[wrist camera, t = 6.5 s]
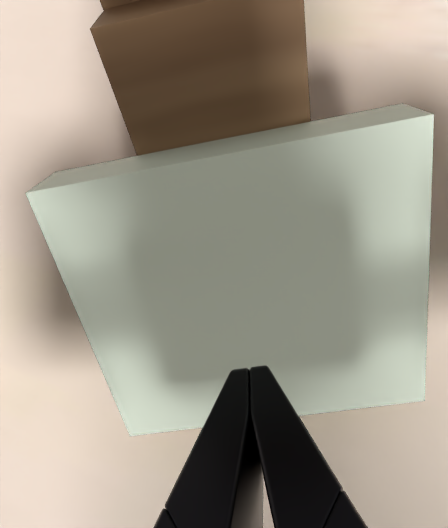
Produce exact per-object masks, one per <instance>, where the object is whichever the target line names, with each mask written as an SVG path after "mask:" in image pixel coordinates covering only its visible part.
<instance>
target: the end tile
mask: <svg viewBox="0 0 448 528" xmlns="http://www.w3.org/2000/svg"><path fill="white" fill-rule="evenodd" d="M433 131H434V114H432V113H430V112H427V111H424V110H421V109H418V108H415V107H412V106H409V105H406V104H403V103H402V104H397V105H391V106H386V107H381V108H376V109H371V110H366V111H361V112H356V113H351V114H346V115H341V116H336V117H331V118H326V119H321V120H316V121H311V122H305V123H300V124H295V125H290V126H285V127H280V128H275V129H270V130H265V131H260V132H255V133H250V134H245V135H240V136H235V137H230V138H224V139H219V140H214V141H209V142H204V143H199V144H194V145H189V146H184V147H179V148H174V149H169V150H164V151H159V152H154V153H149V154H144V155H138V156H133V157H128V158H123V159H118V160H113V161H108V162H103V163H98V164H93V165H88V166H83V167H78V168H73V169H68V170H63V171H57V172H55V173H53V174H52V175H50V176H49V177H48V178H46V179H45V180H43V181H42V182H40V183H39V184H38V185H36V186H35V187H33V188H32V189H30V190H29V191H28V192H26V196H27V198H28V200H29V203H30V205H31V207H32V209H33V212H34V214H35V216H36V219H37V221H38V223H39V226H40V228H41V230H42V233H43V235H44V237H45V240H46V242H47V244H48V247H49V249H50V251H51V254H52V256H53V258H54V261H55V263H56V265H57V268H58V270H59V272H60V275H61V277H62V279H63V282H64V284H65V286H66V289H67V291H68V293H69V295H70V298H71V300H72V302H73V305H74V307H75V309H76V312H77V314H78V316H79V319H80V321H81V323H82V326H83V328H84V330H85V333H86V335H87V337H88V340H89V342H90V344H91V347H92V349H93V351H94V354H95V356H96V358H97V361H98V363H99V365H100V368H101V370H102V372H103V375H104V377H105V379H106V381H107V384H108V386H109V388H110V391H111V393H112V395H113V398H114V400H115V402H116V405H117V407H118V409H119V412H120V414H121V416H122V419H123V421H124V423H125V426H126V428H127V430H128V433H129V435H130V436H136V435H145V434H153V433H161V432H170V431H178V430H186V429H195V428H203V426H204V424H205V422H206V420H207V418H208V416H209V414H210V412H211V410H212V408H213V406H214V404H215V402H216V399H217V397H218V395H219V393H220V391H221V389H222V387H223V385H224V383H225V381H226V379H227V377H228V375H229V373H230V371H232V370H233V369H241V368H248V369H249V370H250V368H251V367H256V366H263V365H266V366H268V367H269V368H270V370H271V372H272V373H273V375H274V377H275V378H276V380H277V382H278V383H279V385H280V386H281V388H282V390H283V391H284V393H285V395H286V396H287V398H288V400H289V401H290V403H291V404H292V406H293V408H294V409H295V411H296V413H297V414H298V416H303V415H311V414H320V413H328V412H336V411H345V410H353V409H361V408H370V407H378V406H386V405H395V404H403V403H411V402H420V401H425V380H426V349H427V318H428V287H429V256H430V225H431V193H432V162H433Z"/></svg>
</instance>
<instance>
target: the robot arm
mask: <svg viewBox="0 0 448 528" xmlns="http://www.w3.org/2000/svg"><path fill="white" fill-rule="evenodd" d="M263 476H264V481H265V486H266V490H267V495H268V500H269V504H270V509H271V514H272V518H273V523H274V528H368V527H367V526H366V524H365V523H364V521H363V519H362V518H361V516H360V515H359V513H358V512H357V510H356V509H355V507H354V505H353V504H352V502H351V501H350V499H349V497H348V496H347V494H346V492H345V491H343V488H342V486H341V485H340V483H339V481H338V480H337V478H336V476H335V475H334V473H333V472H332V470H331V468H330V467H329V465H328V463H327V462H326V460H325V458H324V457H323V455H322V454H321V452H320V450H319V449H318V447H317V445H316V444H315V442H314V440H313V439H312V437H311V436H310V434H309V432H308V431H307V429H306V427H305V426H304V424H303V422H302V421H301V419H300V418H299V416H298V414H297V413H296V411H295V409H294V408H293V406H292V404H291V403H290V401H289V400H288V398H287V396H286V395H285V393H284V391H283V390H282V388H281V386H280V385H279V383H278V382H277V380H276V378H275V377H274V375H273V373H272V372H271V370H270V368H269V367H268V366H266V365H263V366H256V367H251V368H250V370H249V369H248V368H241V369H233V370H232V371H230V373H229V375H228V377H227V379H226V381H225V383H224V385H223V387H222V389H221V391H220V393H219V395H218V397H217V399H216V402H215V404H214V406H213V408H212V410H211V412H210V414H209V416H208V418H207V420H206V422H205V424H204V426H203V428H202V430H201V432H200V434H199V436H198V438H197V440H196V442H195V444H194V446H193V448H192V451H191V453H190V455H189V457H188V459H187V461H186V463H185V465H184V467H183V469H182V471H181V473H180V475H179V477H178V479H177V481H176V483H175V485H174V487H173V489H172V491H171V493H170V495H169V497H168V500H167V502H166V504H165V508H166V509H165V508H164V509H162V511H161V513H160V515H159V518H158V520H157V522H156V524H155V526H154V528H263Z"/></svg>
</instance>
